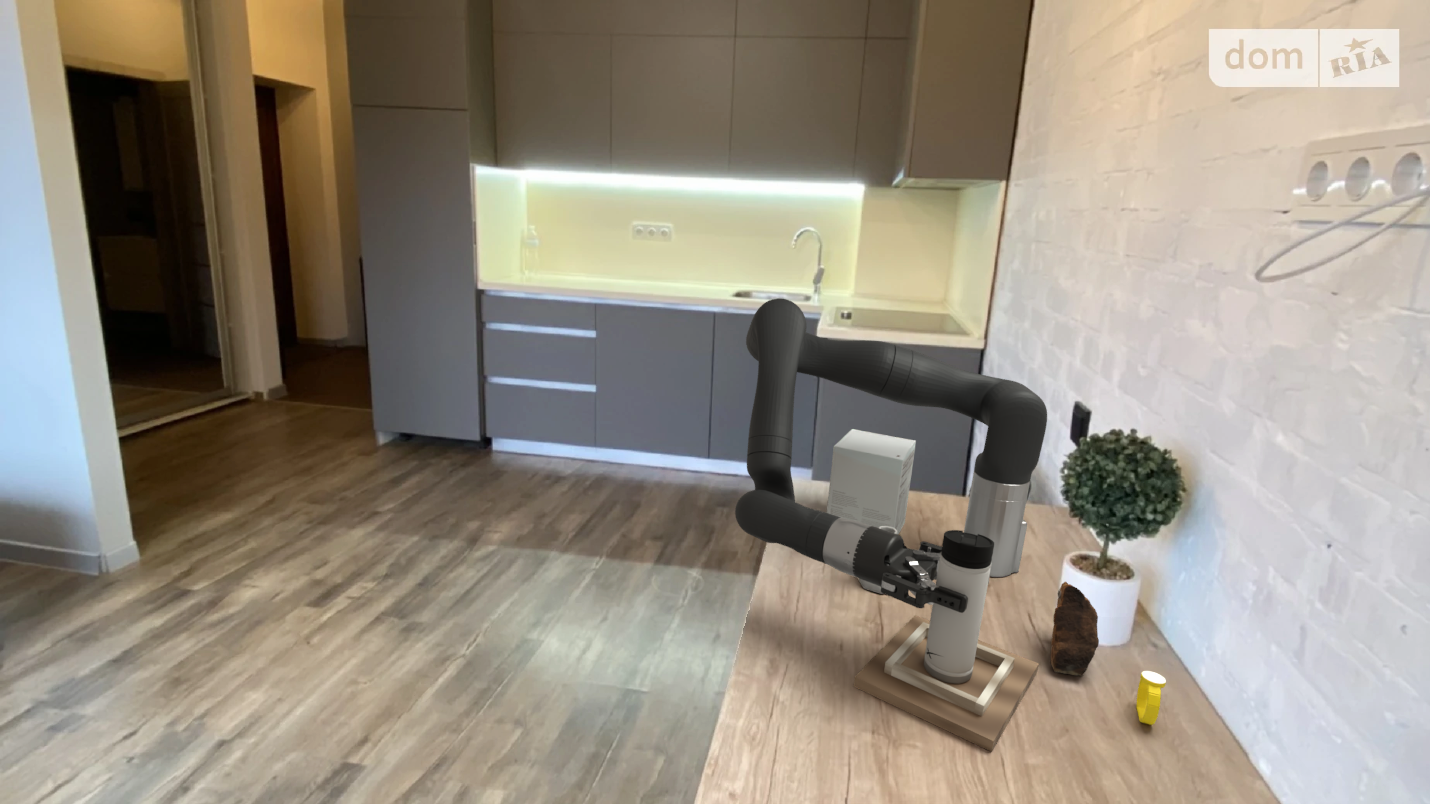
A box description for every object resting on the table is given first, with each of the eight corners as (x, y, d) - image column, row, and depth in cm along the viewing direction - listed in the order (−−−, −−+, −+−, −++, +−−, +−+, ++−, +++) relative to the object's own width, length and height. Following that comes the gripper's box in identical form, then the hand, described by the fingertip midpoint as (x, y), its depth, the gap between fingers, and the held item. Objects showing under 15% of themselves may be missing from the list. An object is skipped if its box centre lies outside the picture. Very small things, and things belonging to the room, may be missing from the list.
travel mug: (920, 677, 98) (941, 539, 92) (926, 651, 104) (946, 519, 98) (969, 691, 96) (994, 550, 90) (973, 663, 102) (996, 529, 96)
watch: (1128, 702, 99) (1137, 661, 97) (1152, 708, 98) (1161, 667, 96) (1135, 727, 93) (1145, 685, 92) (1160, 734, 92) (1170, 691, 91)
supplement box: (906, 522, 149) (918, 440, 144) (891, 548, 138) (904, 459, 133) (842, 507, 154) (851, 427, 150) (823, 531, 143) (832, 445, 138)
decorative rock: (1047, 630, 114) (1061, 567, 111) (1091, 642, 111) (1106, 578, 108) (1043, 672, 103) (1057, 603, 100) (1091, 687, 101) (1107, 616, 98)
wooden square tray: (913, 623, 113) (916, 606, 112) (1036, 672, 103) (1040, 654, 102) (853, 686, 98) (856, 666, 97) (991, 751, 87) (995, 730, 87)
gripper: (842, 543, 98) (963, 586, 89) (887, 511, 109) (999, 546, 100) (836, 594, 100) (954, 641, 91) (881, 557, 111) (990, 596, 102)
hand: (977, 591), depth 95 cm, fingers open, 8 cm apart
